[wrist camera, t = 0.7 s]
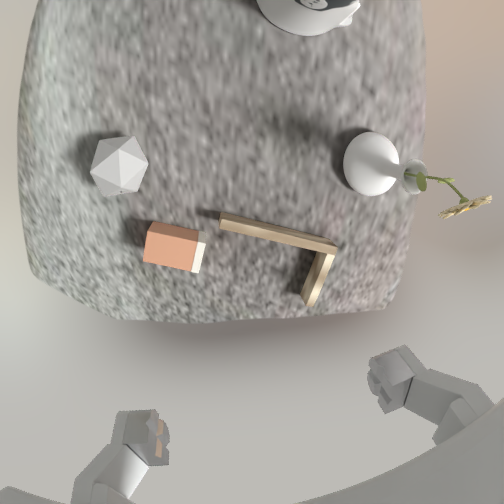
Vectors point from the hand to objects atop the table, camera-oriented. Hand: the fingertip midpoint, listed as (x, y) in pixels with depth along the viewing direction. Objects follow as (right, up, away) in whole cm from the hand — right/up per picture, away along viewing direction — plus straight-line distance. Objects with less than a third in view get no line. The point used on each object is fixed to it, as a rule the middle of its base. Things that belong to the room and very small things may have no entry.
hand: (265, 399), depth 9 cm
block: (-13, +7, +38) cm, 41 cm away
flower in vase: (+21, +21, +37) cm, 48 cm away
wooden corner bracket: (+2, +4, +42) cm, 42 cm away
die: (-20, +19, +32) cm, 43 cm away
